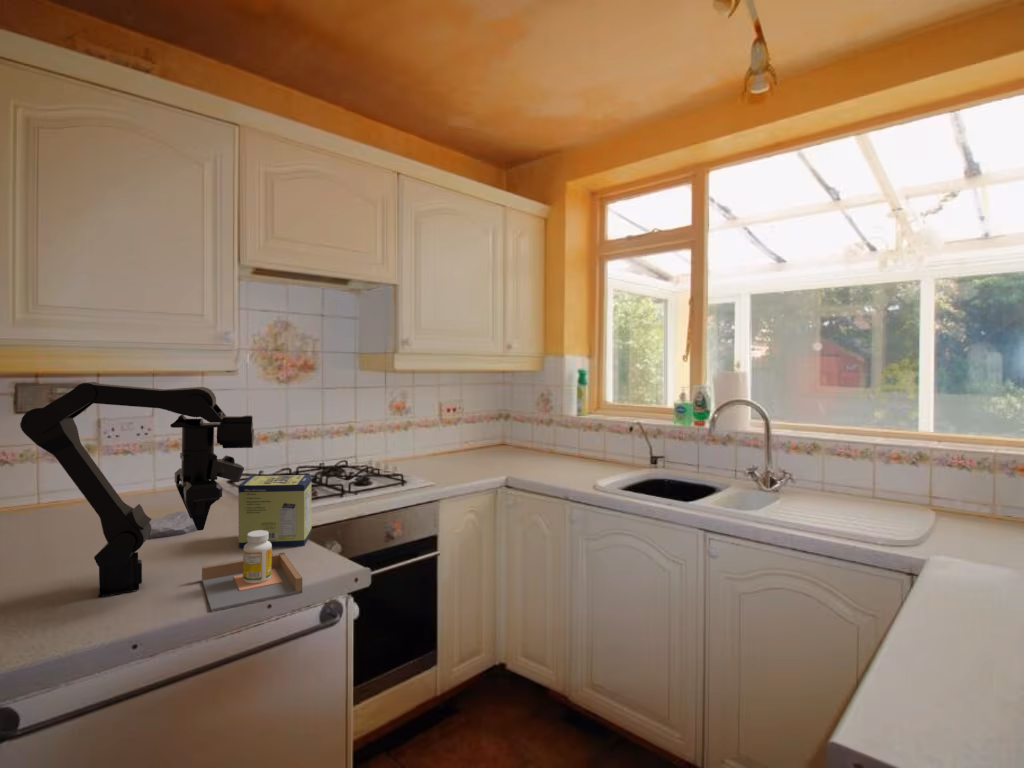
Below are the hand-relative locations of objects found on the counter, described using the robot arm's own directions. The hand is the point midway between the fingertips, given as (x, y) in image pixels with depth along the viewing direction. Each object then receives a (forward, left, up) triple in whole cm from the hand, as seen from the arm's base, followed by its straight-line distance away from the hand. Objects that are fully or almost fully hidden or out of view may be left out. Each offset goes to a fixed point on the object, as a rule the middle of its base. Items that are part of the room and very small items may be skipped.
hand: (196, 524), depth 114 cm
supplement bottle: (+10, -8, -11) cm, 17 cm away
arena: (+9, -9, -12) cm, 17 cm away
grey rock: (-3, +37, -12) cm, 39 cm away
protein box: (+19, +17, -12) cm, 28 cm away
